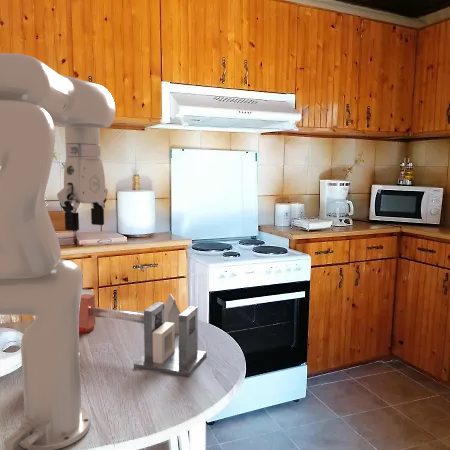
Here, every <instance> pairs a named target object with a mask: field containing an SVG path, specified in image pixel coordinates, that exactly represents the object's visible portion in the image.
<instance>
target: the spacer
mask: <svg viewBox="0 0 450 450" xmlns="http://www.w3.org/2000/svg"><path fill="white" fill-rule="evenodd" d="M175 336H176V334H175V323H170V322H165V323H164V324H163V325H161V326H160V327H159V328H158V329H156V330H155V331H154V332H153V362H156V363H163V362H164V361H165V360H166V359H167V358H168V357H169V356H170V355H171V354H172V353H173V352H174V351H175V347H176V345H175V344H176V340H175V339H176V338H175Z"/></svg>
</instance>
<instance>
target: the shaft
mask: <svg viewBox="0 0 450 450" xmlns="http://www.w3.org/2000/svg"><path fill="white" fill-rule="evenodd" d="M96 318H101V319H106V320H114V321H115V320H116V321H122V322H128V323H134V324H135V323H136V324H141V325H144V313H140V312H134V311H133V312H132V311H128V310H127V311H124V310H118V309H110V308H103V307H96V296H95V294H94V295H89V294H84V295H81V301H80V310H79V327H81V328H88V329H89V328H91V327H92V326H94V325H95V326H96V325H97V324H96ZM154 319H155V324H156V321H157V316H156V315H155V316H154ZM95 326H94V327H95Z"/></svg>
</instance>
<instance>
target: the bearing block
mask: <svg viewBox="0 0 450 450" xmlns="http://www.w3.org/2000/svg"><path fill="white" fill-rule="evenodd" d="M164 306H165V302H163V301H162V302H160V301H157V302H154V303H153V304H152V305H150V306H149V307H146V309H144V310H143V314H144V324H143V336H144V337H143V339H144V341H143V343H144V344H143V347H144V351H143V352H144V354H143V355H142V356H141V357H140V358H138V360H136V361H135V362H134V363H133V368H134V369H140V370H145V371H149V372H150V371H151V372H155V373H157V372H158V373H163V374H169V375H173V376H179V377H180V376H181V377H184V378H189V377H190V376H191V375H192V374H193V372H194V371H195V370H196V369H197V367H199V365H201V363H202V362H203V360H204V359H205V358H206V357H207V351H203V350H199V349H198V346H199V345H198V340H199V339H198V335H199V334H198V333H199V331H198V326H199V325H198V324H199V323H198V320H199V315H198V309H199V307H198V306H197V305H196V306H195V305H189V306H188V307H187V308H185V309H184V310H183V311H182V312H180V313H181V314H179V333H178V346H175V351H174V352H173V353H172V354H171V355H170V356H169V357H168V358H167V359H166V360H165V361H164V362H163V363H156V362H153V332H154V331H155V330H156V329H158V328H159V327H160V326H161V325H163V324H164V323H165V319H164ZM155 315H156V316H157V321H156V324H155V319H154V316H155Z"/></svg>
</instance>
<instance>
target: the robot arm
mask: <svg viewBox="0 0 450 450" xmlns="http://www.w3.org/2000/svg"><path fill="white" fill-rule="evenodd" d="M115 117H116V104H115V101H114V98H113V97H112V95H111V93H110V92H109V91H108V89H107V88H106V87H104V86H103V85H100V84H97V83H94V82H90V81H88V80H87V81H86V80H82V79H78V78H76V77H72V76H69V75H63V74H60V73H58V72H57V71H55V69H54V70H53V69H52V68H51V67H50V66H48V65H47V64H45V63H44V62H43V61H41V60H39V59H37V57H34V56H31V55H29V54H28V55H27V54H23V53H11V52H0V316H3V315H4V316H5V315H6V316H7V315H8V316H9V315H10V316H11V315H13V316H15V315H18V316H19V315H24V316H29V315H30V316H33V317H34V320H33V321H32V322H31V324H30V325H29V326H28V327H27V328H26V329H25V331H24V332H23V335H22V337H21V341H20V354H21V371H22V372H21V373H22V389H23V390H22V393H23V394H22V395H23V408H24V409H23V410H24V415H23V416H22V417H21V418H19V419H20V422H19V424H18V425H17V426H16V430H15V432H14V433H12V434H10V435H9V436H8V437H7V438H6V439H5V440H4V441H3V446H4V448H5V449H6V450H13V449H15V448H16V447H17V446H20V447H22V449H25V450H59V449H62V448H66V447H68V446H71V445H72V444H74V443H75V442H78V441H79V440H80V439H82V438H83V437H84V436H85V435H86V434H87V432H88V431H89V430H90V427H91V425H92V419H91V418H92V417H91V415H90V412H88V411H87V409H85V408H83V407H82V388H81V387H82V383H81V382H82V381H81V359H80V358H81V355H80V354H81V353H80V334H79V310H80V301H81V294H82V289H83V284H84V280H83V272H82V271H81V268H80V267H79V265H77V264H76V263H74V262H73V261H71V260H67V259H63V258H61V257H62V256H61V255H62V254H61V253H62V252H61V246H60V241H59V239H58V236H57V233H56V232H57V231H55V230H56V229H55V227H54V224H53V222H52V219H51V217H50V213H49V211H48V209H47V206H46V202H45V195H46V191H47V190H46V189H47V187H48V182H49V179H50V173H51V169H52V163H53V158H54V152H55V142H56V135H55V134H56V133H55V132H56V131H55V127H57V128H64V141H65V142H64V143H65V160H64V171H63V188H62V189H61V190H60V191H58V192H57V193H56V197H57V199H58V201H59V205H60V208H62V212H63V213H64V228H65V231H75V232H77V231H79V230H80V219H79V218H80V217H79V212H78V208H79V207H80V204H90V206H92V207H91V208H90V214H91V215H90V217H91V218H90V221H91V222H90V223H91V225H93V226H103V225H105V208H106V202H107V197H108V193H109V191H108V188H106V177H105V169H104V165H103V160H102V159H101V129H107V128H109V127H111V126H112V124H113V123H114V121H115Z"/></svg>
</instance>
